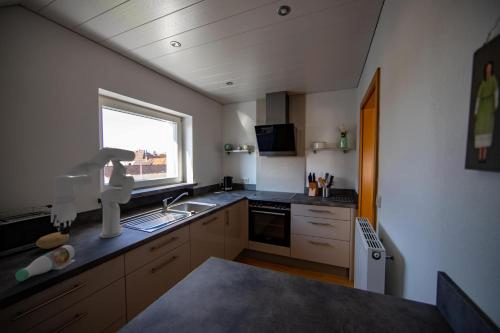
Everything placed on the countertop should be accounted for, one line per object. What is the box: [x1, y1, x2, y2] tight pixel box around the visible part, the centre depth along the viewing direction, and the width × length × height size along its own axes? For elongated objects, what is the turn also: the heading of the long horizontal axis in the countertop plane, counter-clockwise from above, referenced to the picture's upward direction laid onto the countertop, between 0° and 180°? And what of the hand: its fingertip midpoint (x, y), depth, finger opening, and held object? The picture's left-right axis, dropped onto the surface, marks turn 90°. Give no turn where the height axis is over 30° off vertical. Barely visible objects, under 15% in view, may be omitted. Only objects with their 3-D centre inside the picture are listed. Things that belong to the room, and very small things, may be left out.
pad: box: [52, 259, 76, 270], centre depth 96 cm, size 8×15×1 cm, turn 91°
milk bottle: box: [14, 244, 76, 282], centre depth 91 cm, size 8×8×20 cm
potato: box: [35, 231, 70, 250], centre depth 114 cm, size 10×14×8 cm
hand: (65, 233), depth 102 cm, fingers closed
